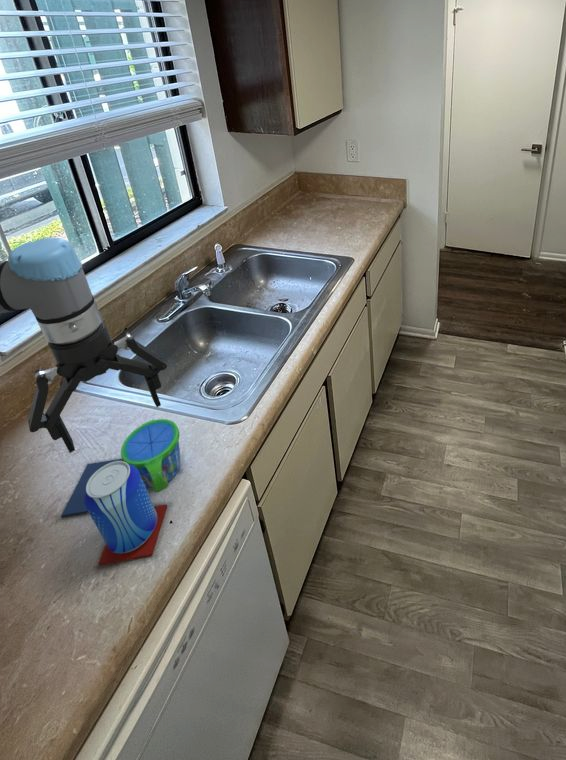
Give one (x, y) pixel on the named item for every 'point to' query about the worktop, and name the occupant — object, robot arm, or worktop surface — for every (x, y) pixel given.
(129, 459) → the snack cup
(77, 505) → the blue mat
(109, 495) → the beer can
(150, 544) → the red mat
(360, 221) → the worktop surface
